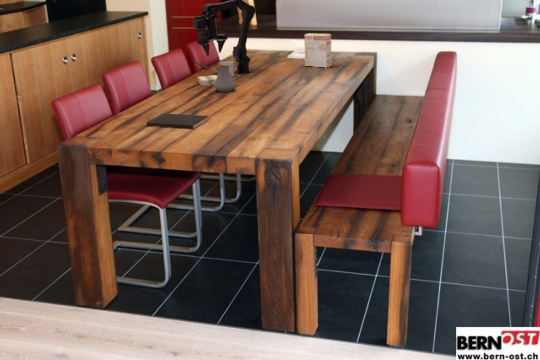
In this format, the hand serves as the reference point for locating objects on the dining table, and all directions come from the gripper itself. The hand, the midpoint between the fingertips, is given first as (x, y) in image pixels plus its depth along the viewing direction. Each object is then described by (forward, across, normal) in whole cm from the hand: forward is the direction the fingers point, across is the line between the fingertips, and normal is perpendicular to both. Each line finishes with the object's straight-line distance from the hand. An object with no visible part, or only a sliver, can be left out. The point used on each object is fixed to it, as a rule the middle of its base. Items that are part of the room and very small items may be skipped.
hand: (213, 54), depth 403 cm
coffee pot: (+13, +24, +27) cm, 39 cm away
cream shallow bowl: (+13, +14, +10) cm, 21 cm away
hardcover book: (+12, +78, +63) cm, 101 cm away
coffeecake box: (+15, -56, +30) cm, 66 cm away
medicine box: (+14, -4, +6) cm, 15 cm away
